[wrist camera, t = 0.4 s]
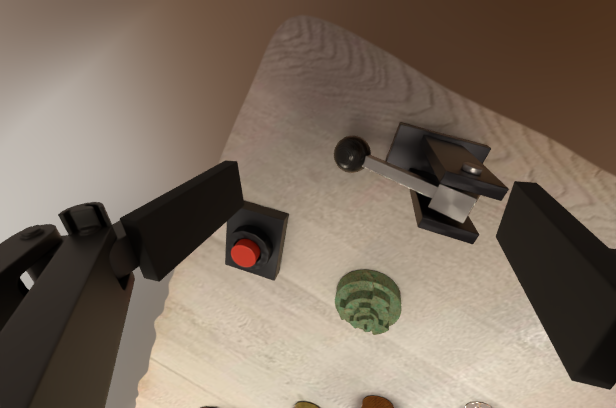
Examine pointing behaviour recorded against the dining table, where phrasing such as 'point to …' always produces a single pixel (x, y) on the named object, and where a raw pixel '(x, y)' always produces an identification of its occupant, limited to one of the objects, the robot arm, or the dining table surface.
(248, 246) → the button
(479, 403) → the wineglass
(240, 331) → the dining table surface
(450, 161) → the switch bracket
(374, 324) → the decorative artifact
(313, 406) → the salt shaker
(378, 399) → the disposable coffee cup
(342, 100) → the dining table surface
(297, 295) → the dining table surface
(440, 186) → the lever
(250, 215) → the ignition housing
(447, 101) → the dining table surface
